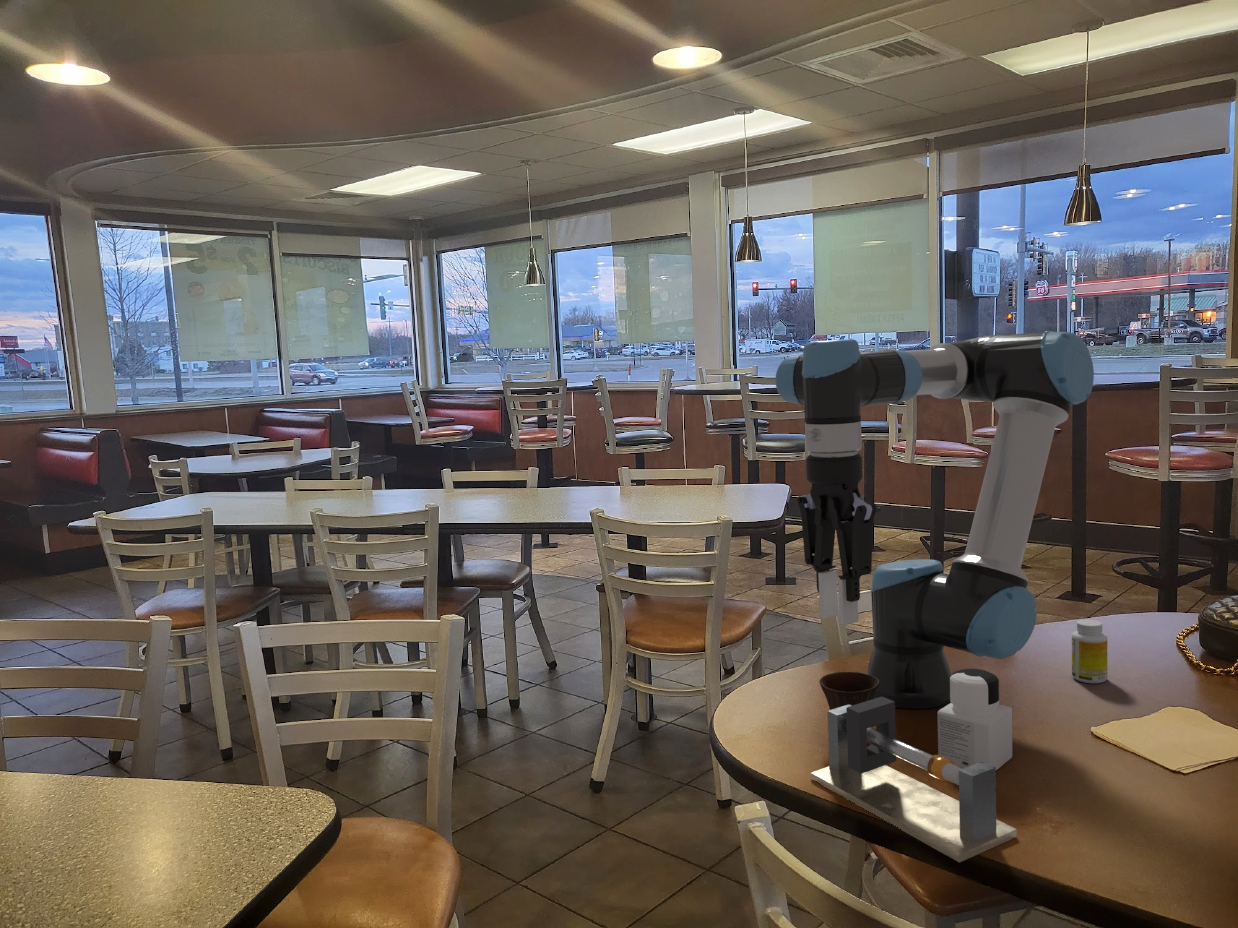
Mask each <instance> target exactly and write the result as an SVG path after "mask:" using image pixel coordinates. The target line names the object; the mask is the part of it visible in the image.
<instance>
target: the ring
mask: <svg viewBox="0 0 1238 928" xmlns="http://www.w3.org/2000/svg"><path fill="white" fill-rule="evenodd" d="M846 709H847V741H848V767H849V768H851V769H852V770H854V771H856V772H858V773H860V774H862V773H865V772H867V771H870V770H873V769H876V768H879V767H881V766H884V765H886V766H888V765H889V764H892V763H895V762H897V756H895V755H893V754H891V753H889V752H887V751H884V750H882V749H880V748H878V747H876V746H874V745H872V744H870V745H868V743H867V728H873V727H875V730H877V731H879V732H881V733H884V734H886V735H888V736H890V737H892V738H895V739H897V738H896V737H897V735H896V731H897V730H896V707H895V702H894V701H892V700H889V699H887V698H884V697H879V698H875V699H872V700H869V701H866V702H862V703H859V704H856V705H853V706H849V707H846Z"/></svg>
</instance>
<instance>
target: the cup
mask: <svg viewBox="0 0 1238 928" xmlns="http://www.w3.org/2000/svg"><path fill="white" fill-rule="evenodd" d="M818 683H819V684H820V685H819V686H820V687H821V691H822V692H823V694H824V697H825V699H826V701H827V705H828V709H829V710H832V709H835V708H839V707H842V706H845V705H848V704H849V705H851V706H853V705H856V704H859V703H862V702H866V701H869V700H872V699H874V696H875V693H876V691H877V688H878V685H879V681H878V679H877V678H875V677H873V676H871V675H868V674H866V673H863V672H858V671H837V672H832V673H828V674H825V675H823V676H822V677H821V678H819V682H818Z"/></svg>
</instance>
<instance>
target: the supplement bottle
mask: <svg viewBox="0 0 1238 928" xmlns="http://www.w3.org/2000/svg"><path fill="white" fill-rule="evenodd" d="M1071 676H1072V678H1073V679H1075V680H1076V681H1078V682H1081V683H1084V684H1085V683H1086V684H1091V685H1092V684H1093V685H1094V684H1095V685H1096V684H1101V683H1105V682H1106V681H1107V680H1108V636H1107V634H1106V633H1104V632H1103V623H1102V622H1101V621H1099V620H1095V619H1078V620H1077V622H1076V630H1074V631H1073V632H1072V633H1071Z"/></svg>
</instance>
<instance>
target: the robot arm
mask: <svg viewBox="0 0 1238 928" xmlns="http://www.w3.org/2000/svg"><path fill="white" fill-rule="evenodd" d="M1094 375H1095V373H1094V363H1093V359H1092V357H1091V353H1090V350H1089V348H1088V346H1087V344H1086V342H1085V341H1084V340H1083V339H1082V338H1081V337H1080V336H1079V335H1078V334H1075V333H1074V332H1070V331H1052V330H1046V331H1043V332H1028V333H1026V332H1025V333H1013V334H1012V333H1010V334H991V335H984V336H979V337H974V338H969V339H966V340H960V341H953V342H944V343H943V342H942V343H937V344H934V345H933V346H931V347H929V349H919V350H918V349H916V350H915V349H914V350H895V349H891V350H889V349H888V350H883V351H865V352H862V351H861V352H860V347H859V342H858V341H857V340H856V339H852V338H850V339H833V340H832V339H831V340H817V341H816V340H815V341H810V342H808V343H805V345H804V347H803V351H802V354H799V355H793V356H788V357H786V358H784V360H782V361H781V363H780V364H779V365H778V367H777V370H776V372H775V387H776V390H777V393H778V394H779V397H780V398H781V399H783V400H784V401H785V402H787V403H791V404H799V405H803V407H804V427H805V428H804V431H805V437H804V438H805V451H806V452H807V453H810V454H809V455H807V456H806V458H805V470H806V471H805V473H806V474H805V475H806V481H807V482H808V483H810V484H811V488H810V492H809V493H808V494H807V495H806V494H805V495H799V496H798V497H797V499H796V501H797V505H798V507H799V511H800V515H801V527H802V528H801V530H802V540H803V543H802V544H803V552H804V553H803V555H804V563H805V564H806V565H808V566H812V567H813V570H814V571H815V572H816V573H815V574H816V577H815V578H816V591H817V593H818V599H819V601H818V602H819V619H822V620H825V619H829V618H833V617H837V616H839V625H841V626H847V625H851V624H855V623H858V622H859V603H858V601H860V598H861V589H860V588H861V585H860V583H861V582H860V579H861V577H862V576H867V575H870V574H871V573H872V575H871V576H872V577H871V588H870V593H871V613H872V614H871V616H872V617H871V618H872V637H873V639H872V640H873V649H872V653H871V656H870V658H869V663H868V666H867V671H866V673H865V674H868V675H871V676H873V677H875V678H877V679H878V681H879V685H878V688H877V691H876V693H875V696H874V699H875V698H879V697H884V698H887V699H889V700H892V701H894V702H895V708H901V709H931V708H937V707H938V708H939V707H942V706H946V705H948V704H950V703H951V701H950V676H951V675H952V672H951V669H950V666H949V662H948V658H947V657H946V653H945V647H948V648H950V649H951V648H952V649H954V650H955V649H956V650H959V651H962V652H967V653H970V654H972V655H974V656H976V657H987V658H992V659H996V660H997V659H999V660H1000V659H1001V660H1002V659H1007V658H1011V657H1012V656H1014V655H1015V654H1016V653H1017V652H1018V651H1021V650H1022V649H1023V648H1024V646H1025V645H1026V644H1027V642H1028V641H1029V639H1030V638H1031V636H1032V634H1033V632H1034V629H1035V626H1036V622H1037V617H1038V610H1037V609H1036V607H1037V601H1036V598H1035V596H1034V595H1033V593H1032V592H1031V591H1029V590H1028V584H1029V579H1028V577H1027V575H1026V574H1025V572H1024V571H1023V569H1022V563H1023V559H1024V556H1025V552H1026V547H1027V543H1028V540H1029V535H1030V531H1031V527H1032V524H1033V519H1034V515H1035V511H1036V508H1037V507H1036V506H1037V503H1038V499H1039V495H1040V490H1041V487H1042V482H1043V478H1044V474H1045V470H1046V466H1047V462H1048V459H1049V454H1050V450H1051V446H1052V442H1053V438H1054V434H1055V430H1056V427H1057V426H1059V425H1061V424H1063V423H1064V422H1066V421H1068V419H1069V416H1070V412H1071V408H1072V405H1079V404H1082V403H1084V402H1085V401H1086V400H1087V398H1089V396H1090V395H1091V393H1092V390H1093V387H1094V378H1095V376H1094ZM926 395H930V396H932V397H933V398H936V399H939V400H940V399H941V400H948V399H955V400H956V399H957V400H967V401H975V402H985V403H992V408H993V409H994V410H995V411H996V412H997V414H998V421H997V426H996V430H995V432H994V436H993V437H994V438H993V441H992V446H991V448H990V452H989V456H988V457H989V458H988V461H987V465H986V469H985V472H984V477H983V480H982V485H981V489H980V492H979V496H978V501H977V504H976V508H975V512H974V516H973V520H972V525H971V528H970V532H969V535H968V539H967V544H966V547H965V551H964V553H963V554H962V555H960V556H959V557H957V558H955V559H953V560H952V562H951V566H950V569H949V574H948V573H944V570H945V568H944V567H943V563H942V562H941V561H940V560H937V559H926V558H925V559H924V558H923V559H919V558H918V559H905V560H897V561H892V562H891V561H890V562H888V563H887V562H886V563H884V564H883V563H882V564H880V565H878V566H877V567H876V568H875V569H874V570H873V571H872V568H873V567H872V565H873V564H872V563H873V526H874V525H873V524H874V522H873V521H874V518H875V515H876V512H877V506H876V504H875V503H867V502H865V501H864V500H863V499H862V496H861V493H860V490H859V483H860V482H861V481H862V479H863V475H864V474H863V456H862V455H861V454H860V453H858V452H859V451H861V450H862V448H863V441H862V439H863V438H862V416H861V415H862V412H861V411H862V409H861V408H863V407H867V406H868V407H869V406H879V405H888V404H889V405H890V404H891V405H897V404H898V403H901V402H902V403H903V402H906V401H909V400H912V398H914V397H915V396H926ZM835 538H836V539H837V547H838V554H839V558H840V566H841V572H842V574H840V575H839V574H838V573H837V572H838V571H837V570H835V569H836V567H837V565H836V564H834V563H833V561H834V553H835V552H834V550H835V549H834V548H835V540H836V539H835ZM813 554H814V555H813Z"/></svg>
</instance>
